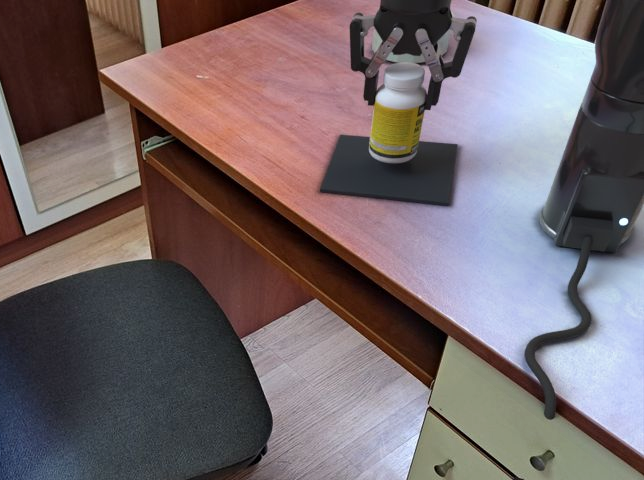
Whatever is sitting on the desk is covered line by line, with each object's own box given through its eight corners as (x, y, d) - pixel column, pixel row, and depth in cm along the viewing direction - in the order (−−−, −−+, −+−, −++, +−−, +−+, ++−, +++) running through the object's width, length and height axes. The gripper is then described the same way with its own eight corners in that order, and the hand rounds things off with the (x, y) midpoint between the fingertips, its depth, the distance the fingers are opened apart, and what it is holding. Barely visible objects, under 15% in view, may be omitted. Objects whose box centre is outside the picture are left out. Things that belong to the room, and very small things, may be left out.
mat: (447, 206, 81) (448, 202, 81) (319, 192, 86) (319, 188, 86) (457, 147, 90) (457, 144, 90) (339, 137, 95) (340, 134, 95)
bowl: (443, 67, 106) (450, 33, 102) (366, 64, 110) (370, 30, 106) (450, 36, 113) (456, 2, 109) (378, 33, 117) (381, 1, 113)
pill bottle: (418, 165, 84) (434, 81, 76) (369, 165, 85) (379, 83, 77) (415, 139, 88) (429, 58, 80) (367, 140, 89) (377, 59, 81)
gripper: (346, -32, 69) (335, 115, 82) (493, -31, 65) (458, 125, 77) (359, -56, 74) (347, 87, 86) (497, -56, 69) (463, 94, 82)
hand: (399, 104), depth 82 cm, fingers closed on pill bottle, 6 cm apart
